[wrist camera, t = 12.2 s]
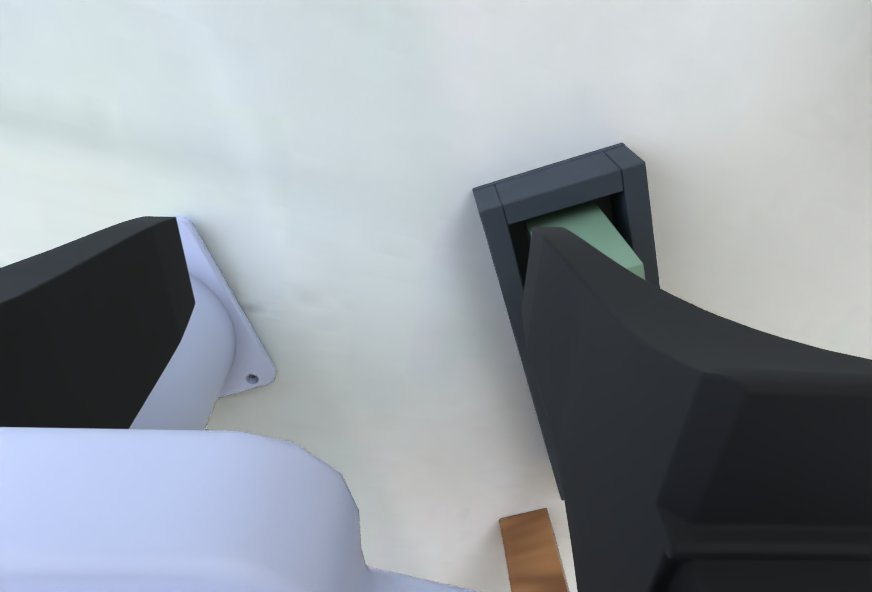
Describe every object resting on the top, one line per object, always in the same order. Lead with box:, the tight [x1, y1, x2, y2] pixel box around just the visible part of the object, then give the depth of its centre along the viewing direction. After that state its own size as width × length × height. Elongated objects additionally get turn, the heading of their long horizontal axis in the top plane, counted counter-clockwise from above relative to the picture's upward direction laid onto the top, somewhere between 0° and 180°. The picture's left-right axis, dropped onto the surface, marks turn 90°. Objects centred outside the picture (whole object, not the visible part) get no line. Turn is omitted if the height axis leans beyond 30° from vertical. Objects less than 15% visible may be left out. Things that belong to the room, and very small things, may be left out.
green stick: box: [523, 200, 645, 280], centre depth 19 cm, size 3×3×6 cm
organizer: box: [473, 143, 660, 500], centre depth 24 cm, size 6×15×2 cm, turn 17°
